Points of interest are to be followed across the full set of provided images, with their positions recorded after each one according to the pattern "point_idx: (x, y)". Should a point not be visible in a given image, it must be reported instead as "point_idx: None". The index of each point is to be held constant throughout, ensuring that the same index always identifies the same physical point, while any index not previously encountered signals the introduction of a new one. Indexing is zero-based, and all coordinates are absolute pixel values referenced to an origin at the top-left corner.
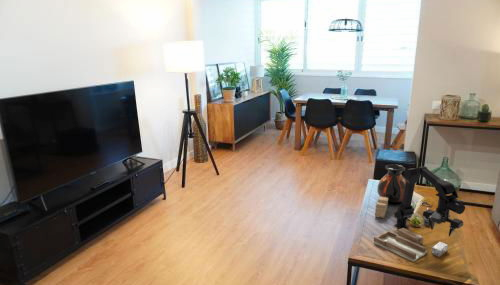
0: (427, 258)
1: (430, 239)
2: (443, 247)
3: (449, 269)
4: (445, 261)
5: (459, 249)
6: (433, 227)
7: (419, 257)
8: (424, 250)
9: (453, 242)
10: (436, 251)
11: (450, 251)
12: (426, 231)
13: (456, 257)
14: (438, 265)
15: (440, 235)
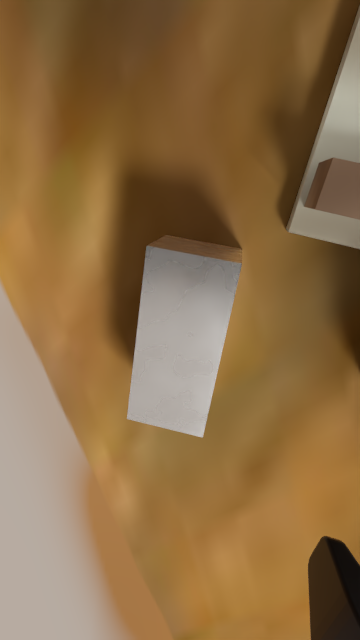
0: (259, 100)
1: (302, 489)
2: (138, 338)
3: (14, 30)
4: (95, 178)
5: (80, 445)
6: (314, 618)
7: (354, 24)
8: (323, 169)
9: (142, 516)
10: (192, 247)
11: (119, 384)
12: None
13: (54, 317)
14: (121, 24)
15: (244, 569)
